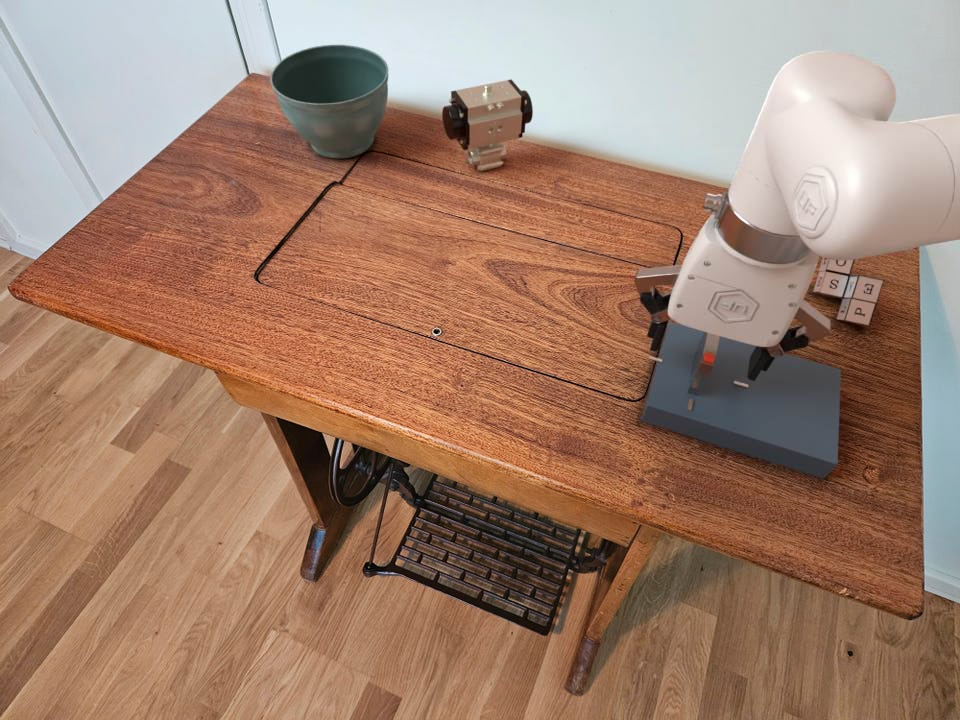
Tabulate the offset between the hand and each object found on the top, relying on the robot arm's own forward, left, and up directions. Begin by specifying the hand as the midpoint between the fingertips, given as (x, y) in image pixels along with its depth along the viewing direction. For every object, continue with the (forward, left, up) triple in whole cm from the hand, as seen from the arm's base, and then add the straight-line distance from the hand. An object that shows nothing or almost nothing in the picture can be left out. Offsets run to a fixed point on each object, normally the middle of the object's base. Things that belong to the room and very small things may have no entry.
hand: (703, 355), depth 62 cm
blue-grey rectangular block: (-5, -2, -6) cm, 8 cm away
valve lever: (0, 0, -2) cm, 3 cm away
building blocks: (-3, -24, -6) cm, 25 cm away
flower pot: (+62, +7, -6) cm, 63 cm away
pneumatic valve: (+44, -7, -6) cm, 45 cm away
